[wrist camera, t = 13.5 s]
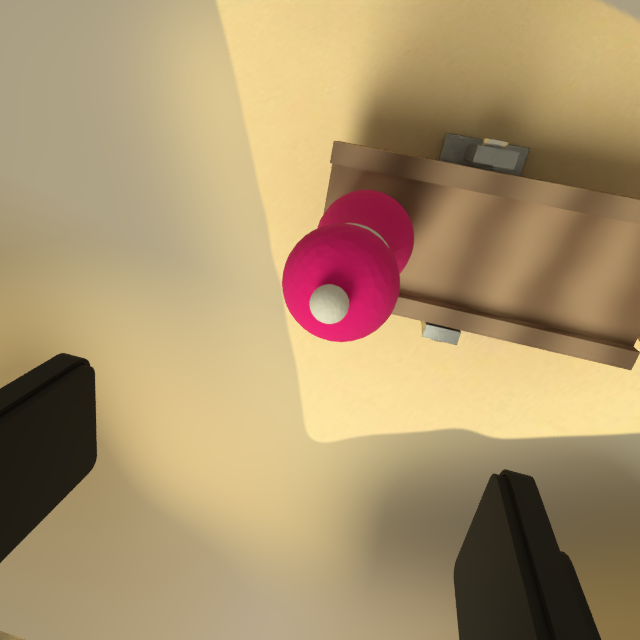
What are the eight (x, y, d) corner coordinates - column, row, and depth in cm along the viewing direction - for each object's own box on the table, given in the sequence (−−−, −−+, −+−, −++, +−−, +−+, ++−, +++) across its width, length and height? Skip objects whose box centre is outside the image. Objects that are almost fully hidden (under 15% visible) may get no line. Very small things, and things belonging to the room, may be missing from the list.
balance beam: (689, 208, 34) (710, 213, 32) (617, 355, 39) (630, 370, 36) (339, 141, 37) (333, 141, 35) (313, 285, 42) (307, 294, 40)
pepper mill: (363, 166, 36) (307, 188, 18) (433, 222, 36) (449, 301, 18) (310, 236, 39) (216, 318, 21) (376, 288, 39) (341, 413, 21)
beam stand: (527, 148, 39) (550, 149, 32) (468, 325, 46) (477, 356, 39) (446, 133, 40) (453, 131, 33) (399, 310, 46) (397, 337, 40)
